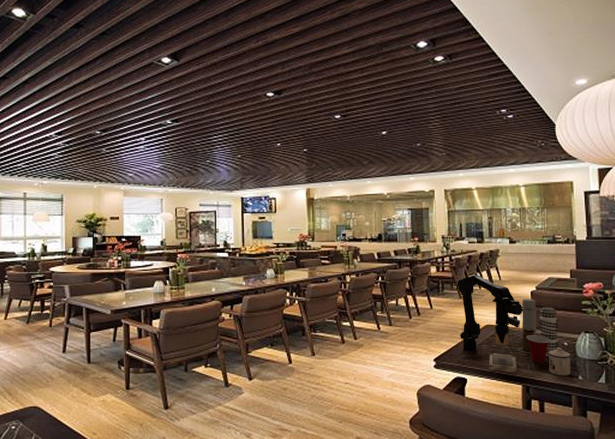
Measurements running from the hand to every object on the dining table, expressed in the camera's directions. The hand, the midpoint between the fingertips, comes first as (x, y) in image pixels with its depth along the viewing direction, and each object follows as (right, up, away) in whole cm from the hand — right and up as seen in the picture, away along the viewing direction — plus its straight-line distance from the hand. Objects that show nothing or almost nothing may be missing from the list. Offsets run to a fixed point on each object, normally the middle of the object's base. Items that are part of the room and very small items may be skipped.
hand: (502, 341), depth 225 cm
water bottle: (+32, -10, +36) cm, 49 cm away
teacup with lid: (+19, -10, -19) cm, 29 cm away
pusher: (-3, -10, -7) cm, 13 cm away
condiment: (+22, -10, +17) cm, 30 cm away
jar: (0, -1, 0) cm, 1 cm away
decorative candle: (+30, -10, +11) cm, 33 cm away
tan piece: (-3, -10, -7) cm, 12 cm away
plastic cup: (+18, -10, -1) cm, 21 cm away
